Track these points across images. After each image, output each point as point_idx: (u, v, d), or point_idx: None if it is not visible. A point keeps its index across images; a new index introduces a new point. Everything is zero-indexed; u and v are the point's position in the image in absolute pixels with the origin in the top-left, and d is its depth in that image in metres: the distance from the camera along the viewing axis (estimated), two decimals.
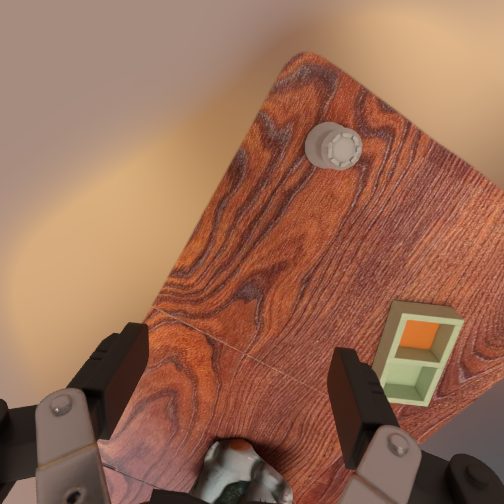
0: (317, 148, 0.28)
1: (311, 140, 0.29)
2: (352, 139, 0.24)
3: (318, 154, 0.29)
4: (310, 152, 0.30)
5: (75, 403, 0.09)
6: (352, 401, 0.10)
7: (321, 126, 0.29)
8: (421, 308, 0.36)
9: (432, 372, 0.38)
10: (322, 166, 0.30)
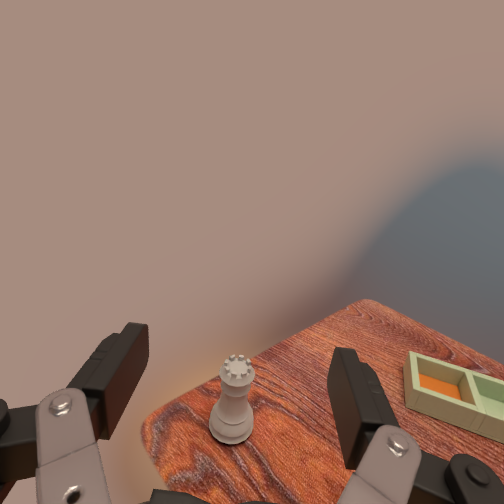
0: (230, 413, 0.28)
1: (220, 425, 0.28)
2: (232, 359, 0.28)
3: (235, 415, 0.28)
4: (231, 430, 0.28)
5: (76, 403, 0.09)
6: (352, 401, 0.10)
7: (211, 415, 0.30)
8: (407, 381, 0.37)
9: (481, 380, 0.37)
10: (249, 424, 0.29)
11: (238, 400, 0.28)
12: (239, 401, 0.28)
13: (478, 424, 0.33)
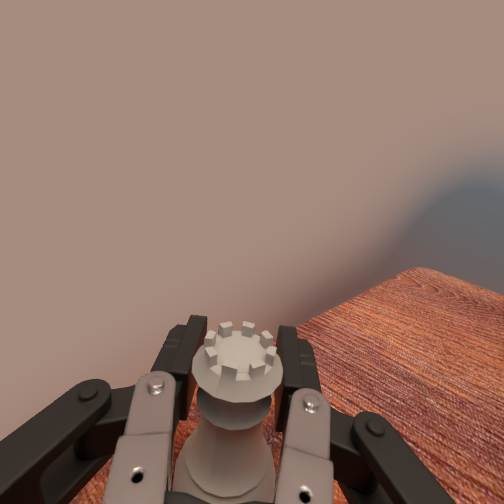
0: (220, 470, 0.11)
1: (197, 497, 0.11)
2: (225, 332, 0.11)
3: (234, 474, 0.11)
4: None
5: (166, 388, 0.09)
6: None
7: (178, 467, 0.13)
8: None
9: None
10: (266, 490, 0.12)
11: (240, 436, 0.11)
12: (243, 440, 0.11)
13: None
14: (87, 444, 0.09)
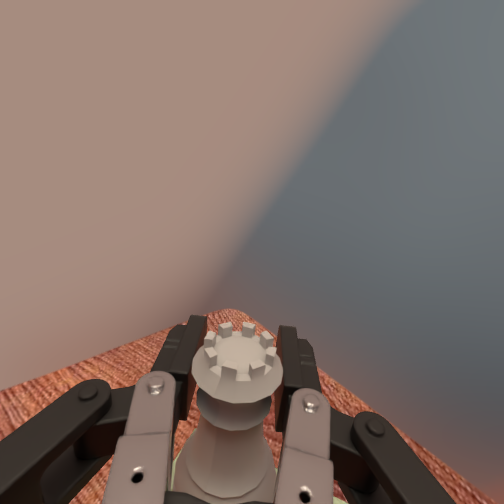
0: (220, 470, 0.11)
1: None
2: (225, 333, 0.11)
3: (234, 474, 0.11)
4: None
5: (166, 388, 0.09)
6: None
7: (178, 467, 0.13)
8: None
9: None
10: (267, 491, 0.12)
11: (240, 436, 0.11)
12: (244, 440, 0.11)
13: None
14: (87, 444, 0.09)
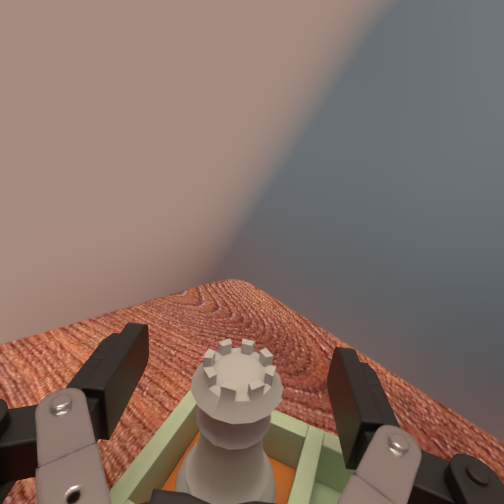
0: (220, 488, 0.11)
1: None
2: (224, 350, 0.11)
3: (234, 491, 0.11)
4: None
5: (75, 403, 0.09)
6: (352, 401, 0.10)
7: (178, 482, 0.13)
8: None
9: None
10: None
11: (239, 454, 0.11)
12: (243, 458, 0.11)
13: None
14: None
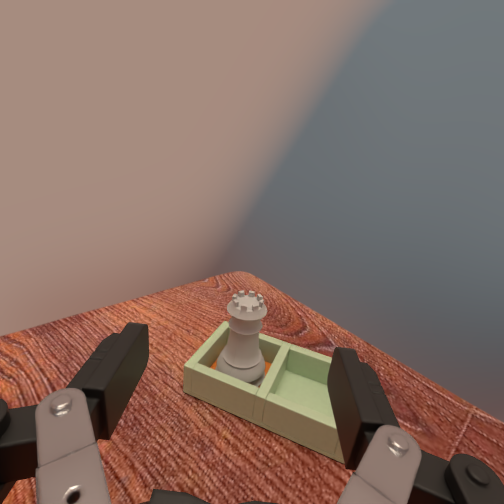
0: (239, 356, 0.25)
1: (229, 369, 0.25)
2: (241, 295, 0.25)
3: (245, 358, 0.25)
4: (240, 375, 0.25)
5: (76, 403, 0.09)
6: (352, 401, 0.10)
7: (218, 361, 0.26)
8: None
9: (300, 357, 0.28)
10: (260, 369, 0.26)
11: (248, 339, 0.24)
12: (249, 341, 0.25)
13: (260, 413, 0.23)
14: None
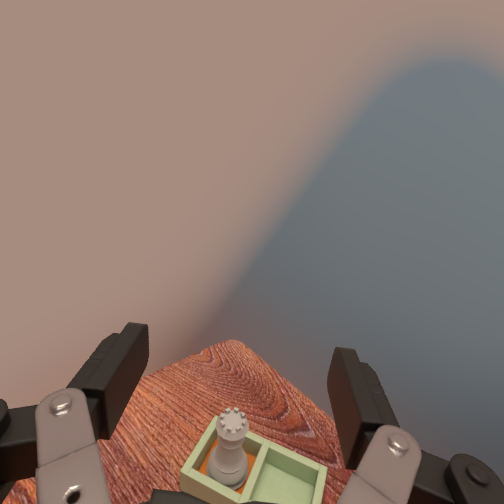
0: (226, 463, 0.30)
1: (217, 473, 0.31)
2: (227, 412, 0.31)
3: (231, 465, 0.30)
4: (227, 479, 0.30)
5: (75, 403, 0.09)
6: (352, 401, 0.10)
7: (209, 462, 0.32)
8: None
9: (278, 455, 0.33)
10: (243, 471, 0.31)
11: (233, 451, 0.30)
12: (234, 452, 0.30)
13: None
14: None
